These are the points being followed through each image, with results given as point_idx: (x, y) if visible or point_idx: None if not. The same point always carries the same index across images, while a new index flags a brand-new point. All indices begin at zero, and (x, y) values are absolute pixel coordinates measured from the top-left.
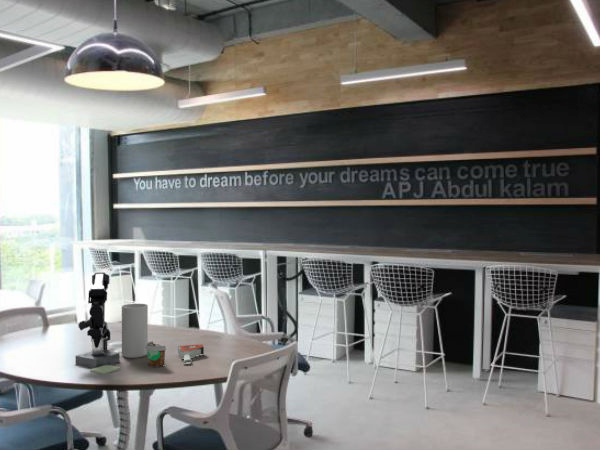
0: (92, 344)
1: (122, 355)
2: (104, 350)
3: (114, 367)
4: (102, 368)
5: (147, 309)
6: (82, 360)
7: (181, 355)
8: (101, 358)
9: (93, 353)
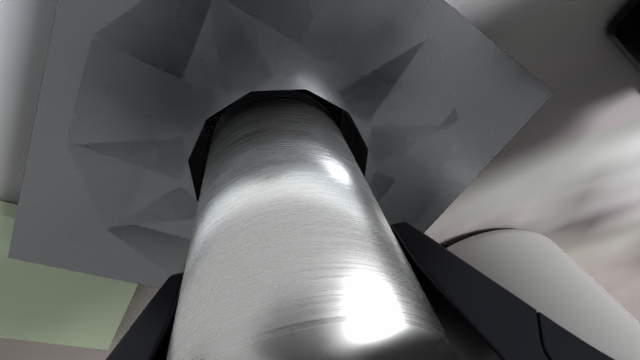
0: (207, 250)
1: (451, 248)
2: (462, 180)
3: (93, 326)
4: (18, 271)
5: None
6: None
7: None
8: (108, 275)
9: (206, 164)
